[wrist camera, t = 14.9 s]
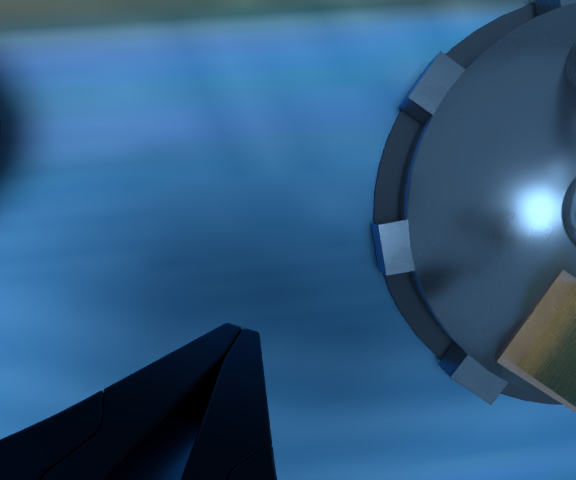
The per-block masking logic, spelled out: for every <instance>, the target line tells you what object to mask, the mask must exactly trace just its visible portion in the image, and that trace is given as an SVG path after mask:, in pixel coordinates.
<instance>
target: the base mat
mask: <svg viewBox="0 0 576 480" xmlns="http://www.w3.org/2000/svg"><path fill="white" fill-rule="evenodd" d="M535 17H537V10H536V3H535V4H531V5H527V6H525V7H522V8H520V9H518V10H515V11H513V12H510V13H508V14H505V15H503V16H501V17H499V18H497V19H495V20H494V21H492V22H490V23H488V24H486V25H485V26H483V27H481V28H479V29H478V30H476V31H475V32H473V33H472V34H471V35H469V36H468V37H467V38H465V39H464V40H463V41H461V42H460V43H459V44H457V45H456V46H455V47H453V48H452V49H451V50H450V51H449V52H448V53H447V54H446V55H447V56H448V57H449V58H451V59H452V60H453V61H455V62H456V63H458V64H459V65H460V66H462V67H463V68H465V67H466V66H467V65H468V64H469V63H471V62H472V61H473V60H474V59H475V58H477V57H478V56H479V55H480V54H482V53H483V52H484V51H485V50H486V49H488V48H489V47H490V46H492V45H493V44H494V43H496V42H497V41H498V40H500V39H501V38H502V37H504V36H505V35H506V34H508V33H509V32H510V31H512V30H514V29H516V28H517V27H519V26H521V25H523V24H524V23H526V22H528V21H530V20H531V19H533V18H535ZM420 124H421V122H420V121H418V120H417V119H415V118H414V117H413V116H411V115H410V114H408V113H407V112H406V111H404V110H403V109H402V110H401V111H400V113H399V115H398V117H397V119H396V121H395V123H394V126H393V128H392V130H391V132H390V134H389V137H388V139H387V141H386V145H385V148H384V151H383V154H382V158H381V161H380V164H379V169H378V175H377V180H376V186H375V192H374V216H373V220H374V223H378V222H383V221H389V220H394V219H398V205H399V191H400V185H401V180H402V174H403V169H404V166H405V163H406V159H407V156H408V153H409V150H410V146H411V144H412V142H413V140H414V138H415V135H416V133H417V131H418V129H419V127H420ZM383 275H384V277H385V280H386V283H387V285H388V288H389V291H390V293H391V295H392V297H393V299H394V301H395V303H396V305H397V306H398V308H399V310H400V312H401V314H402V315H403V317H404V318H405V320H406V321H407V322H408V324H409V325H410V327H411V328H412V329H413V331H414V332H415V333H416V335H417V336H418V337H419V338H420V339H421V340H422V341H423V342H424V343H425V344H426V345H427V346H428V347H429V348H430V349H431V351H432V352H433V353H434V354H435V355H436V356H438V357H439V358H440V359H441V360H442V359H443V357H444V356H445V355H446V353H447V352H448V351H449V349H450V348H451V347H452V345H453V344H454V342H453V341H452V340H451V339H450V338H449V337H448V336H447V335H446V334H445V333H444V332H443V331H442V330H441V329H440V328H439V327H438V326H437V324H436V323H435V321H434V320H433V319H432V317H431V316H430V315H429V313H428V312H427V310H426V309H425V308H424V306H423V304H422V302H421V300H420V298H419V297H418V295H417V293H416V291H415V289H414V287H413V285H412V282H411V279H410V277H409V274H408V272H404V273H398V274H393V275H387V276H386V275H385V274H384V273H383ZM500 394H504V395H507V396H511V397H514V398H518V399H521V400H525V401H532V402H538V403H545V404H562V403H560V402H558V401H557V400H555V399H551V398H548V397H544V396H541V395H537V394H534V393H531V392H529V391H526V390H524V389H522V388H519V387H517V386H515V385H512V384H510V383H508V384H507V385H506V386H505V388H504V389H503V390H502V392H501V393H500ZM562 405H563V404H562Z"/></svg>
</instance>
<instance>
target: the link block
mask: <svg viewBox="0 0 576 480" xmlns="http://www.w3.org/2000/svg"><path fill="white" fill-rule="evenodd" d="M517 366H518V367H519V368H521V369H522V370H524V371H525V372H526V373H528V374H529V375H531V376H532V377H534V378H535V379H536V380H538V381H539V382H541V383H542V384H543V385H545V386H546V387H548V388H549V389H551V390H552V391H553V392H555V393H556V394H558V395H559V396H561V397H562V398H563V399H565V400H566V401H568V402H569V403H571V404H572V405H573V406H575V407H576V285H575V286H574V288H573V289H572V290H571V292H570V293H569V294H568V296H567V297H566V299H565V300H564V301H563V303H562V304H561V305H560V307H559V308H558V310H557V311H556V312H555V314H554V315H553V316H552V318H551V319H550V320H549V322H548V323H547V325H546V326H545V327H544V329H543V330H542V331H541V333H540V334H539V336H538V337H537V338H536V340H535V341H534V342H533V344H532V345H531V346H530V348H529V349H528V351H527V352H526V353H525V355H524V356H523V357H522V359H521V360H520V362H519V363H518V364H517Z"/></svg>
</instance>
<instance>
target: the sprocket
mask: <svg viewBox="0 0 576 480" xmlns="http://www.w3.org/2000/svg"><path fill="white" fill-rule="evenodd" d="M535 1H536V10H537V17H535V18H533V19H531V20H530V21H528V22H526V23H524V24H523V25H521V26H519V27H517V28H516V29H514V30H512V31H510V32H509V33H508V34H506V35H505V36H504V37H502V38H501V39H500V40H498V41H497V42H496V43H494V44H493V45H492V46H490V47H489V48H488V49H486V50H485V51H484V52H483V53H482V54H480V55H479V56H478V57H477V58H475V59H474V60H473V61H472V62H471V63H469V64H468V65H467V66H466V67H465V68H463V67H462V66H460V65H459V64H458V63H456V62H455V61H453V60H452V59H451V58H449V57H448V56H447V55H445V54H444V53H442V52H441V51H440V53H439V54H438V55H437V56H436V57H435V58H434V59H433V60H432V61H431V62H430V63H429V64H428V66H427V67H426V68H425V70H424V71H423V73H422V74H421V76H420V77H419V78H418V80H417V81H416V83H415V84H414V86H413V87H412V88H411V90H410V91H409V93H408V94H407V96H406V97H405V98H404V100H403V101H402V103H401V104H400V106H399V107H400V108H401V109H403V110H404V111H406V112H407V113H408V114H410V115H411V116H413V117H414V118H415V119H417V120H418V121H420V122H421V124H420V127H419V129H418V131H417V133H416V135H415V138H414V140H413V142H412V144H411V146H410V150H409V153H408V156H407V159H406V163H405V166H404V169H403V174H402V180H401V185H400V191H399V205H398V219H394V220H389V221H383V222H378V223H372V224H371V225H372V231H373V237H374V243H375V249H376V255H377V261H378V267H379V271H381V272H382V273H384V274H385V275H386V276H387V275H393V274H398V273H404V272H408V274H409V277H410V279H411V282H412V285H413V287H414V289H415V291H416V293H417V295H418V297H419V298H420V300H421V302H422V304H423V306H424V308H425V309H426V310H427V312H428V313H429V315H430V316H431V317H432V319H433V320H434V321H435V323H436V324H437V326H438V327H439V328H440V329H441V330H442V331H443V332H444V333H445V334H446V335H447V336H448V337H449V338H450V339H451V340H452V341H453V342H454V344H453V345H452V347H451V348H450V349H449V351H448V352H447V353H446V355H445V356H444V357H443V359H442V360H441V361H440V363H439V366H440V367H441V368H442V369H443V370H444V371H445V372H446V373H447V374H448V375H449V376H450V377H451V378H452V379H454V380H455V381H457V382H458V383H459V384H461V385H462V386H464V387H465V388H467V389H468V390H470V391H471V392H473V393H474V394H475V395H477V396H478V397H480V398H481V399H483V400H484V401H486V402H487V403H489V404H490V405H491V404H492V403H493V402H494V401H495V399H496V398H497V397H498V395H499V394H500V393H501V392H502V390H503V389H504V388H505V386H506V385H507V384H508V383H510V384H512V385H515V386H517V387H519V388H522V389H524V390H526V391H529V392H531V393H534V394H537V395H541V396H544V397H548V398H551V399H555V400H557V401H558V402H560V403H562V404H563V405H565V406H566V407H568V408H569V409H571V410H572V411H574V412H576V407H575V406H573V405H572V404H571V403H569V402H568V401H566V400H565V399H563V398H562V397H561V396H559V395H558V394H556V393H555V392H553V391H552V390H551V389H549V388H548V387H546V386H545V385H543V384H542V383H541V382H539V381H538V380H536V379H535V378H534V377H532V376H531V375H529V374H528V373H526V372H525V371H524V370H522V369H521V368H519V367H518V366H517V364H518V363H519V362H520V360H521V359H522V357H523V356H524V355H525V353H526V352H527V351H528V349H529V348H530V346H531V345H532V344H533V342H534V341H535V340H536V338H537V337H538V336H539V334H540V333H541V331H542V330H543V329H544V327H545V326H546V325H547V323H548V322H549V320H550V319H551V318H552V316H553V315H554V314H555V312H556V311H557V310H558V308H559V307H560V305H561V304H562V303H563V301H564V300H565V299H566V297H567V296H568V294H569V293H570V292H571V290H572V289H573V288H574V286H575V285H576V0H535Z"/></svg>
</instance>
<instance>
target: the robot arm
mask: <svg viewBox="0 0 576 480" xmlns="http://www.w3.org/2000/svg"><path fill="white" fill-rule="evenodd" d="M0 480H277V476H276V469H275V462H274V454H273V447H272V438H271V430H270V421H269V412H268V404H267V395H266V386H265V378H264V369H263V360H262V351H261V343H260V335H259V333H258V332H256V331H253V330H249V329H246V328H244V329H242V328H241V327H239V326H236V325H232V324H229V323H225V324H223V325H221V326H219V327H218V328H216V329H214V330H212V331H210V332H208V333H206V334H205V335H203V336H201V337H199V338H197V339H195V340H194V341H192V342H190V343H188V344H186V345H184V346H183V347H181V348H179V349H177V350H175V351H173V352H171V353H170V354H168V355H166V356H164V357H162V358H160V359H159V360H157V361H155V362H153V363H151V364H149V365H148V366H146V367H144V368H142V369H140V370H138V371H136V372H135V373H133V374H131V375H129V376H127V377H125V378H124V379H122V380H120V381H118V382H116V383H114V384H112V385H111V386H109V387H107V388H105V389H104V393H103V391H99V392H97V393H96V394H94V395H92V396H90V397H88V398H86V399H85V400H83V401H81V402H79V403H77V404H75V405H73V406H71V407H69V408H67V409H65V410H63V411H61V412H59V413H57V414H55V415H53V416H51V417H49V418H47V419H45V420H43V421H40V422H38V423H36V424H34V425H32V426H30V427H27V428H25V429H23V430H21V431H19V432H16V433H14V434H12V435H10V436H7V437H5V438H3V439H1V440H0Z"/></svg>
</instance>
